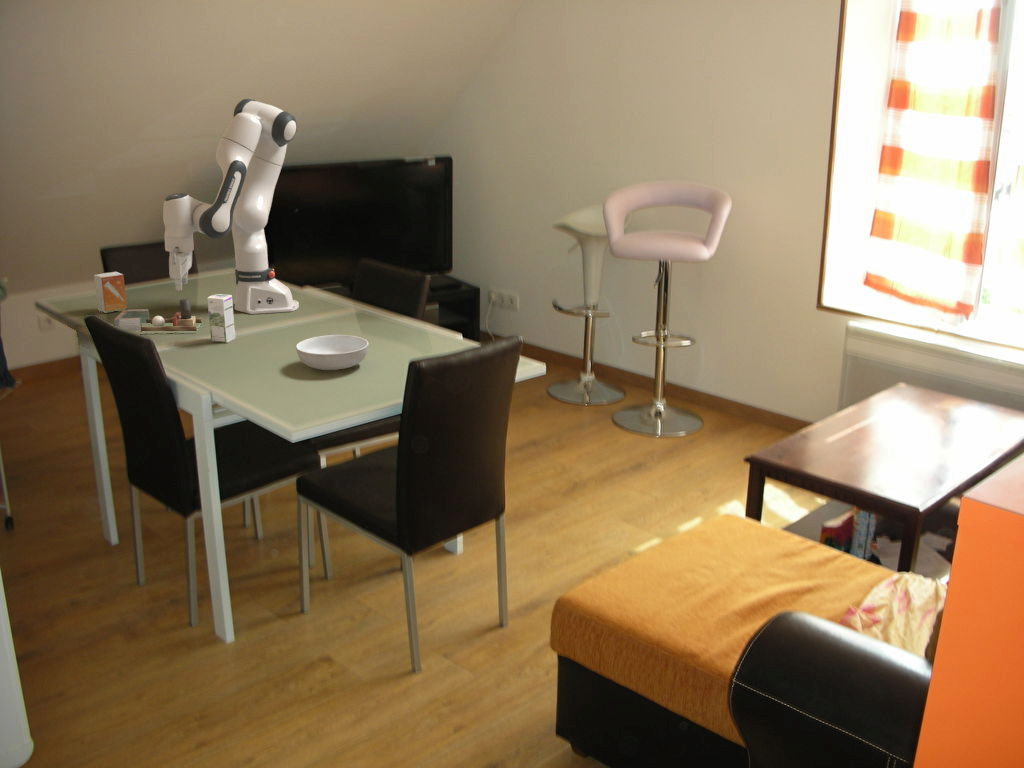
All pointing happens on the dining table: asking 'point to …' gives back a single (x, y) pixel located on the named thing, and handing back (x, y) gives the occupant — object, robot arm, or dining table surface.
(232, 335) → the syrup box
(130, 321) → the grey-white box
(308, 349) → the serving bowl
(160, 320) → the ball
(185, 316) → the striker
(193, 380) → the dining table surface
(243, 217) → the robot arm
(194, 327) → the rails
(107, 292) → the small box
